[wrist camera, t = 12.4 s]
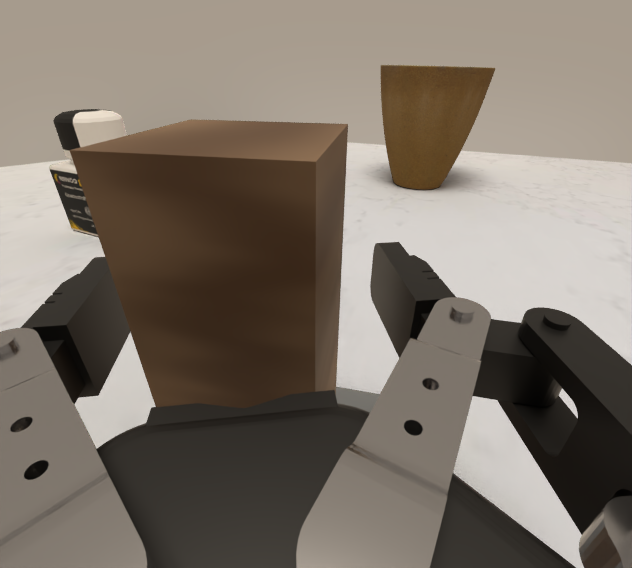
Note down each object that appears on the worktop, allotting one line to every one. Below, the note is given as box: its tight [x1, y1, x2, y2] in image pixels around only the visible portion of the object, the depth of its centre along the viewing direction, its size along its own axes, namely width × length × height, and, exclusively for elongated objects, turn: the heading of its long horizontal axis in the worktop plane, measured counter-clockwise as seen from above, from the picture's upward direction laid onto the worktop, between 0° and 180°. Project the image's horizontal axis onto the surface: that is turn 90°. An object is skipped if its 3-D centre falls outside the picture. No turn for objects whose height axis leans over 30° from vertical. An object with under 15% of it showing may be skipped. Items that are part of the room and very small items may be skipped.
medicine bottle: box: [49, 109, 127, 236], centre depth 38 cm, size 7×7×12 cm
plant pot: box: [381, 65, 495, 190], centre depth 53 cm, size 15×15×16 cm
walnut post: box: [70, 120, 348, 408], centre depth 12 cm, size 4×4×14 cm
